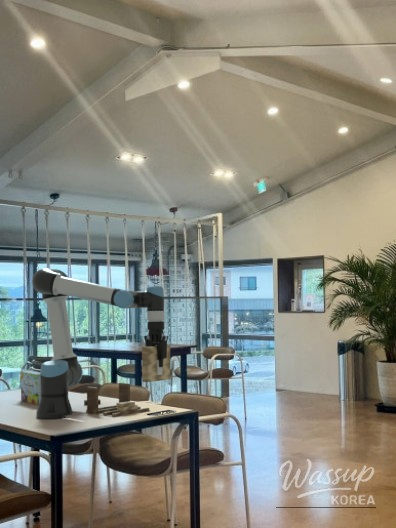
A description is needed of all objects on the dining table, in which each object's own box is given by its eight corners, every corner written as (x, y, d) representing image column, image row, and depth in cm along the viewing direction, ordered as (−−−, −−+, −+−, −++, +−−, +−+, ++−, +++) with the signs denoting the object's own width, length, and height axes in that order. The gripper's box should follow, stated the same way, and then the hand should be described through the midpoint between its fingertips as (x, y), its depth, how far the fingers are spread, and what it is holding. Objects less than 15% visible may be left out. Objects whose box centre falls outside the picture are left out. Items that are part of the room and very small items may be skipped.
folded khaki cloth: (147, 382, 283) (146, 347, 284) (142, 381, 285) (141, 347, 286) (170, 379, 293) (170, 345, 294) (165, 378, 295) (165, 345, 296)
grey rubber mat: (153, 416, 279) (153, 415, 279) (136, 413, 287) (136, 412, 287) (176, 411, 289) (176, 410, 289) (159, 409, 297) (159, 408, 297)
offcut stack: (122, 414, 277) (122, 404, 277) (115, 413, 280) (115, 403, 280) (138, 412, 284) (138, 401, 284) (131, 411, 287) (131, 400, 287)
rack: (111, 419, 271) (111, 390, 272) (83, 415, 284) (83, 387, 285) (151, 412, 287) (150, 385, 288) (122, 408, 300) (122, 382, 301)
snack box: (19, 400, 333) (20, 370, 334) (30, 399, 337) (30, 370, 338) (36, 405, 316) (36, 373, 317) (47, 404, 320) (47, 373, 321)
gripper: (174, 320, 288) (175, 374, 286) (149, 320, 299) (150, 372, 297) (162, 321, 282) (163, 376, 281) (137, 321, 293) (137, 374, 292)
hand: (156, 374), depth 289 cm, fingers closed on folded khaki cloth, 3 cm apart
